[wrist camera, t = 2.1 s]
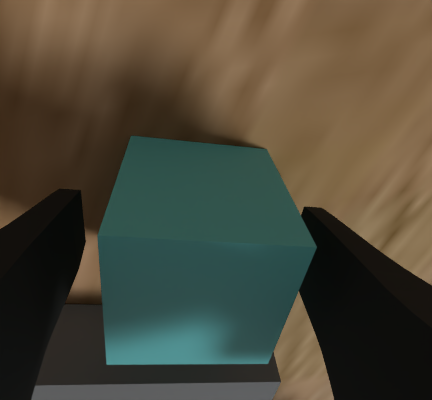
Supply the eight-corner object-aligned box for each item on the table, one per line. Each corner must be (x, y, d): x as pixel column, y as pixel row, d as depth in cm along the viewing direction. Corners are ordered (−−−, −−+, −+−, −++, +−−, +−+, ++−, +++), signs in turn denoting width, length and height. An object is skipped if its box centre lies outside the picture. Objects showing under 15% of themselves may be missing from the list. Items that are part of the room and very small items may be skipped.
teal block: (266, 148, 11) (316, 246, 7) (241, 247, 13) (268, 364, 9) (131, 134, 10) (97, 235, 6) (131, 241, 13) (106, 364, 9)
